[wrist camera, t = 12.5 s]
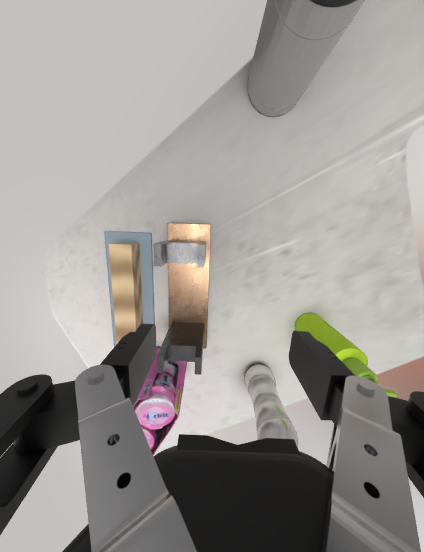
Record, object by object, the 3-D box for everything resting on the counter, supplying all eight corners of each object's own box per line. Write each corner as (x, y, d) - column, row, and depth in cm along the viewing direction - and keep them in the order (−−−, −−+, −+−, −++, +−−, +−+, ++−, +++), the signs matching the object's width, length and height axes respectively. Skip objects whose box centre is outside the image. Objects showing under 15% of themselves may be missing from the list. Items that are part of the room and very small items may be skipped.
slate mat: (105, 231, 39) (104, 231, 38) (151, 233, 39) (150, 233, 38) (115, 349, 44) (114, 350, 44) (155, 350, 45) (154, 351, 44)
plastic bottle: (271, 360, 45) (317, 458, 26) (270, 385, 47) (312, 496, 27) (243, 360, 45) (267, 459, 26) (243, 385, 47) (265, 496, 27)
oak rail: (118, 242, 39) (108, 243, 35) (139, 243, 39) (131, 244, 35) (125, 343, 44) (117, 354, 40) (144, 343, 44) (137, 354, 40)
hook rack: (169, 223, 38) (148, 220, 26) (210, 224, 38) (209, 222, 26) (170, 343, 44) (154, 389, 31) (206, 344, 44) (204, 390, 32)
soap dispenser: (289, 337, 44) (351, 424, 24) (300, 309, 42) (376, 378, 23) (314, 344, 44) (394, 434, 25) (326, 316, 43) (421, 389, 23)
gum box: (159, 340, 44) (140, 391, 30) (190, 355, 45) (186, 409, 32) (115, 417, 48) (83, 489, 35) (145, 428, 50) (125, 501, 36)
